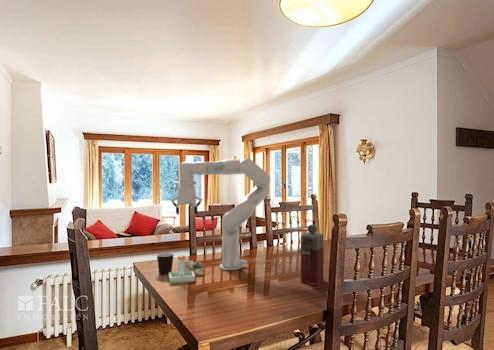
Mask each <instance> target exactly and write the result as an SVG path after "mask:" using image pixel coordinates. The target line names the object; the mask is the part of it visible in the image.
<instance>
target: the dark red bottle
mask: <svg viewBox="0 0 494 350" xmlns="http://www.w3.org/2000/svg"><path fill="white" fill-rule="evenodd" d="M317 231H318V227H317V225H315V224H310V225H308V226H307V232H305V233H303V234H301V235H300V283H302V282H309V283H315V284H319V283H320V282H321V281H322V280H323V281H324V233H321V232H317ZM323 281H322V282H323ZM322 282H321V283H322ZM321 283H320V284H321ZM320 284H319V285H320Z"/></svg>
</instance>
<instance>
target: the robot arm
mask: <svg viewBox="0 0 494 350" xmlns="http://www.w3.org/2000/svg"><path fill="white" fill-rule="evenodd" d="M194 175H198V176H205V175H221V176H222V175H223V176H224V175H225V176H226V175H227V176H229V175H231V176H232V175H245V176H246V178H247V177H248V179H249V180H251V181H252V182H253V183H254V187H253V188H252V190H250V191H249V192H248V194H247V195H245V196H244V197H243V198H242V199H240V201H238V202H237V204H236V206H234V207H233V208H232V209H231V210H230V211H227V212H225V213H224V214H223V216H222V218H221V226H222V227H221V228H222V231H221V238H222V239H221V241H222V243H221V251H222V252H221V258H222V259H221V264H219V266H218V267H219V269H221V270H224V271H236V270H240V269H242V267H243V264H244V265H246V264H248V260H247V259H240V226H242V225H243V224H244V223H245V222H246V221H248V219H249V218H251V216H252V215H253V213H254V212H255V209H256V208H257V207H258V206H259V205H260V204H261V203H262V202H263V201H264V200H265V199H266V197H267V196H268V193H269V191H270V183H271V176H270V175H269V174H268V173H267V172H266V171H265V170H264V169H263V168H262V167H260V166H259V165H258V163H256V162H254V160H252V159H251V158H241V159H236V158H235V159H222V160H218V161H195V162H191V161H183V162H180V165H179V186H178V188H177V196H175V197H174V198H171V200H170V201H171V204H172V206H174V207H175V214H176V215H178V216H179V215H180V207H179V206H181V205H194V207H193V210H194V211H193V213H194V214H195V215H197V213H198V207H199V206H200V205H201V203H202V201H203V198H201V197H198V196H197V192H196V186H195V185H197V181H195V180H194V179H195V178H194ZM176 200H177V203H176V202H175V201H176ZM197 200H198V202H197Z"/></svg>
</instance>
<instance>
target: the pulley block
mask: <svg viewBox="0 0 494 350" xmlns="http://www.w3.org/2000/svg"><path fill="white" fill-rule="evenodd" d="M189 270H192V271H193V273H194V275H195V276H201V275H204V267H203V263H202V262H200V261H195V262H193V260H185V271H189Z"/></svg>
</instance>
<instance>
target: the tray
mask: <svg viewBox="0 0 494 350" xmlns="http://www.w3.org/2000/svg"><path fill="white" fill-rule="evenodd" d="M168 282H169V285H176V284H185V283H195V282H196V275H194V273H193V271H192V270H189V271H185V276H181V277H179V270H178V271H172V272H169V275H168Z"/></svg>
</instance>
